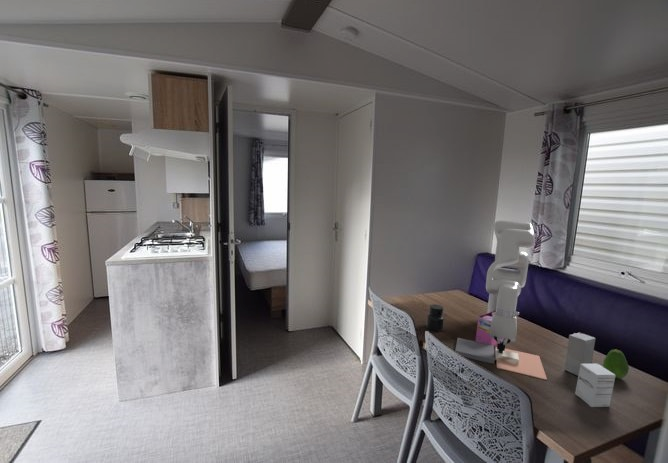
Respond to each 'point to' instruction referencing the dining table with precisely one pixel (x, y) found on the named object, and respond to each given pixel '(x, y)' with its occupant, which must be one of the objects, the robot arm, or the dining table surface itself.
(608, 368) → the avocado
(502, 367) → the mat
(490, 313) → the gum box
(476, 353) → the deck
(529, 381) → the dining table surface
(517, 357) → the tile
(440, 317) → the ink bottle
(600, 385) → the supplement box
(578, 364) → the skincare box
